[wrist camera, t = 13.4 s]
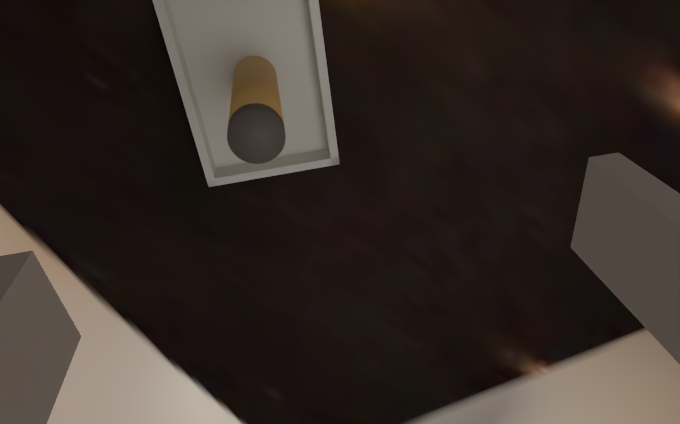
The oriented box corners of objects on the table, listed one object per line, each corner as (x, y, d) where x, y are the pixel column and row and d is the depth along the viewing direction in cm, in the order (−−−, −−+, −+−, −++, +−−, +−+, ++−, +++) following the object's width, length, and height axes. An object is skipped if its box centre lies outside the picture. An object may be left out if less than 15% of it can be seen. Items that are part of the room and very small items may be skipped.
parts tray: (154, -22, 31) (147, -17, 29) (309, -44, 31) (313, -41, 29) (210, 172, 38) (208, 187, 36) (335, 151, 39) (339, 164, 37)
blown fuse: (230, 57, 33) (221, 113, 24) (273, 53, 34) (282, 106, 24) (237, 100, 35) (232, 166, 26) (279, 95, 35) (288, 160, 26)
